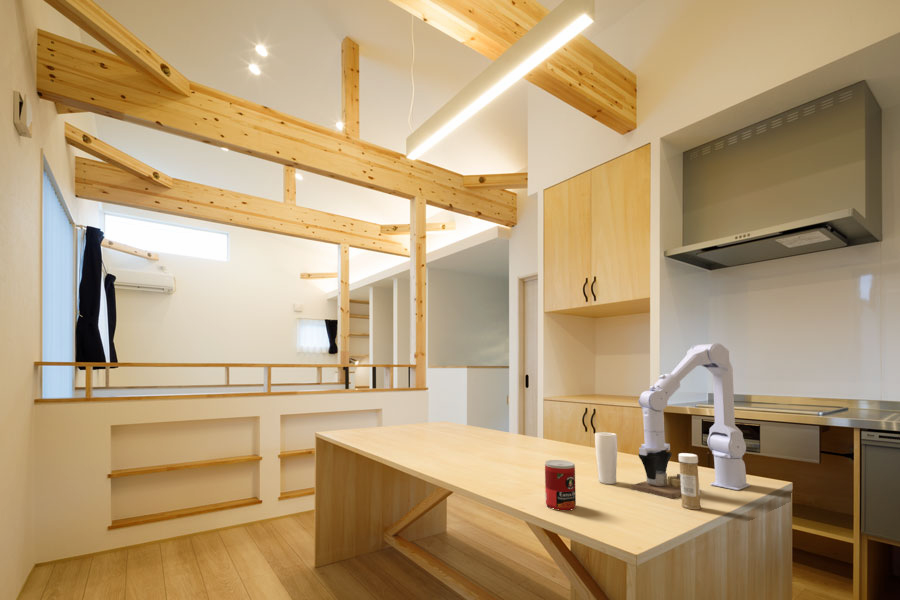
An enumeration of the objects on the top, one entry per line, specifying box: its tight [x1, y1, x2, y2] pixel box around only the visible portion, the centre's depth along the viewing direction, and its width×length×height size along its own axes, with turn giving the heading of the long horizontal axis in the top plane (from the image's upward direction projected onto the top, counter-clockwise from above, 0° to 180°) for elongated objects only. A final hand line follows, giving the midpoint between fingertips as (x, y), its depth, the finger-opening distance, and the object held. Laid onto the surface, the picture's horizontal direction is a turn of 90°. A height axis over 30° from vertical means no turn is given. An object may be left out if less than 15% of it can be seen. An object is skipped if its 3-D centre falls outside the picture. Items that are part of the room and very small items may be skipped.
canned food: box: [544, 459, 577, 511], centre depth 121 cm, size 8×8×11 cm
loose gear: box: [646, 471, 668, 486], centre depth 138 cm, size 5×5×3 cm
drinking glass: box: [594, 431, 618, 485], centre depth 146 cm, size 7×7×15 cm
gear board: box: [631, 473, 682, 499], centre depth 138 cm, size 16×12×4 cm
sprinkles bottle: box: [678, 452, 702, 510], centre depth 121 cm, size 5×5×13 cm
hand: (656, 477), depth 138 cm, fingers closed on loose gear, 5 cm apart
